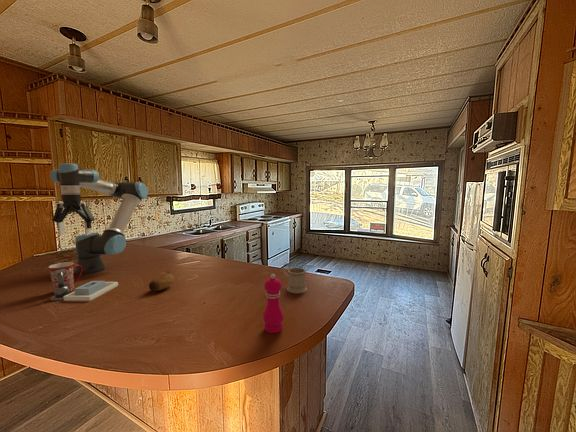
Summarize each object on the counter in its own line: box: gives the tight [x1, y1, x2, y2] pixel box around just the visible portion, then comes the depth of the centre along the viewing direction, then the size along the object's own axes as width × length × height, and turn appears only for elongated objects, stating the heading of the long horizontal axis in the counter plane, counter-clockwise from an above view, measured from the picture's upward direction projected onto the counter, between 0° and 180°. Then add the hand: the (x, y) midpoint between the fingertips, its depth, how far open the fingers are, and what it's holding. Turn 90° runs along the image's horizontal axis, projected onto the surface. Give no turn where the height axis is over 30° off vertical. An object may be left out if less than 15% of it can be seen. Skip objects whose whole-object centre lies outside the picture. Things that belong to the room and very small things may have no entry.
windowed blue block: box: [74, 280, 106, 296], centre depth 120 cm, size 12×6×4 cm, turn 179°
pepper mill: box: [262, 273, 284, 334], centre depth 88 cm, size 7×7×20 cm
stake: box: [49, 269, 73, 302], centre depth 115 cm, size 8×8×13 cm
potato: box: [148, 270, 175, 292], centre depth 125 cm, size 8×13×8 cm
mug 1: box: [48, 261, 82, 294], centre depth 123 cm, size 13×9×14 cm
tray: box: [63, 281, 119, 302], centre depth 120 cm, size 18×12×2 cm, turn 179°
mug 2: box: [282, 262, 308, 294], centre depth 125 cm, size 14×10×12 cm
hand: (75, 234), depth 130 cm, fingers open, 13 cm apart
